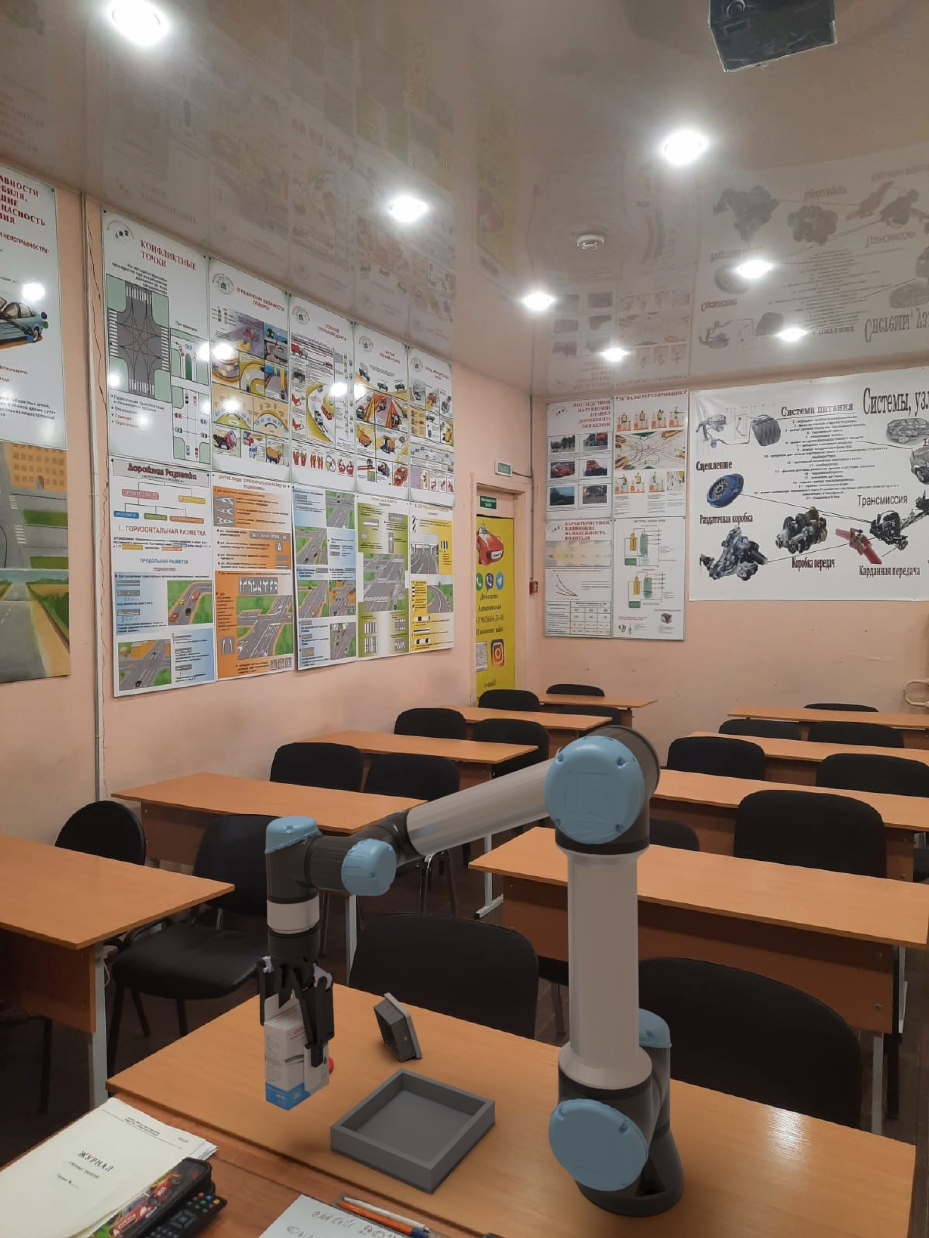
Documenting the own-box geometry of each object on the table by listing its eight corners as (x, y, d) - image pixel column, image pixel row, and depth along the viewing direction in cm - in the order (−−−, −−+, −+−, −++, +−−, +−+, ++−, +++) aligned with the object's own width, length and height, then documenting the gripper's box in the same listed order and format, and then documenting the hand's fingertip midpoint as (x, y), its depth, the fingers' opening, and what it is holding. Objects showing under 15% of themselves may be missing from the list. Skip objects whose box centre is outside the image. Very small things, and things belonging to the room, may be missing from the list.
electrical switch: (423, 1058, 146) (418, 1008, 146) (397, 1070, 144) (392, 1019, 143) (400, 1035, 154) (395, 987, 154) (375, 1045, 152) (370, 997, 151)
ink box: (287, 1113, 116) (284, 1009, 116) (264, 1101, 119) (261, 1000, 119) (330, 1083, 123) (328, 986, 123) (307, 1073, 126) (305, 978, 126)
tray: (494, 1122, 128) (494, 1100, 128) (431, 1194, 113) (431, 1169, 113) (401, 1088, 137) (400, 1067, 137) (330, 1149, 122) (330, 1126, 122)
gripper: (358, 926, 119) (362, 1084, 120) (267, 905, 129) (271, 1052, 129) (324, 945, 113) (328, 1112, 113) (230, 921, 122) (235, 1076, 123)
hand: (297, 1080), depth 121 cm, fingers closed on ink box, 5 cm apart
